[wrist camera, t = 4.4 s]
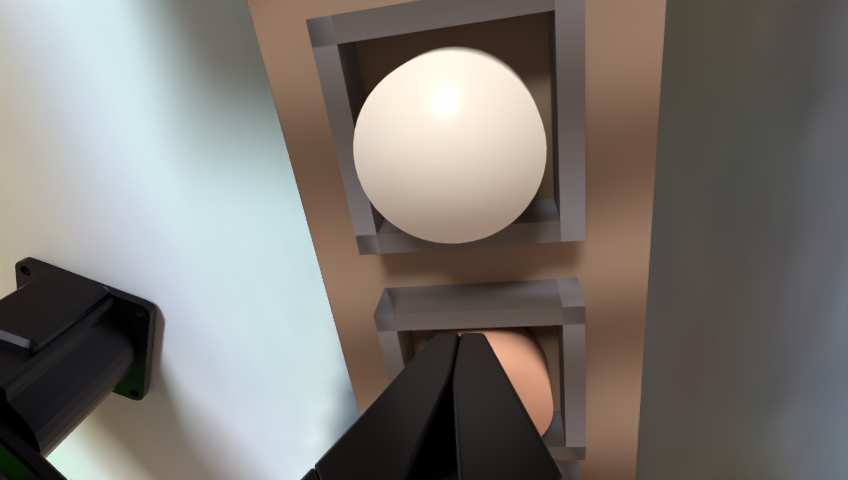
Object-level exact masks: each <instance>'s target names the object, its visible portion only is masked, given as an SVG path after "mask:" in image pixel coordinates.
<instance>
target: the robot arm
mask: <svg viewBox="0 0 848 480" xmlns="http://www.w3.org/2000/svg"><path fill="white" fill-rule="evenodd" d="M15 270H16V282H17V290H16V291H14V292H12V293H11V294H9V295H7V296H5V297H4V298H2V299H0V480H67V479H66V478H65V477H64V476H63V475H62V474H61V473H60V472H59V471H58V470H57V469H56V468H55V467H54V466H53V465H52V464H51V463H50V462H48V461H47V460H46V459H45V458H46V457H47V456H48V455H49V454H50V453H51V452H52V451H53V450H54V449H55V448H56V447H57V446H58V445H59V444H60V443H61V442H62V441H63V440H64V439H65V438H66V437H67V436H68V435H69V434H70V433H71V432H72V431H73V430H74V429H75V428H76V427H77V426H78V425H79V424H80V423H81V422H82V421H83V420H84V419H85V418H86V417H87V416H88V415H89V414H90V413H91V412H92V411H93V410H94V409H95V408H96V407H97V406H98V405H99V404H100V403H101V402H102V401H103V400H104V399H105V398H106V397H107V396H108V395H109V394H110V393H111V392H114V393H117V394H119V395H122V396H125V397H128V398H130V399H133V400H141V399H143V398H144V396H145V395H146V394H147V393H148V389H149V379H150V368H151V357H152V347H153V336H154V325H155V315H156V310H155V307H154V306H153V304H151V303H150V302H149V301H147V300H145V299H142V298H139V297H136V296H134V295H131V294H128V293H126V292H123V291H120V290H118V289H115V288H112V287H110V286H107V285H104V284H101V283H99V282H96V281H93V280H91V279H88V278H85V277H83V276H80V275H77V274H75V273H72V272H69V271H66V270H64V269H61V268H58V267H56V266H53V265H50V264H48V263H45V262H42V261H40V260H37V259H34V258H30V257H27V258H24V259H22V260H21V261H19V262H17V263H16V265H15ZM142 310H143V311H142ZM315 469H316V470H315ZM315 469H314V468H312V469H310V470H309V471H308V473H307V474H306V475H305V476H304V477H303V478H302V479H301V480H564V478H563V475H562V474H561V472H560V470H559V468H558V466H557V464H556V463H555V461H554V459H553V457H552V455H551V454H550V452H549V450H548V448H547V446H546V445H545V443H544V441H543V439H542V437H541V435H540V434H539V432H538V430H537V428H536V426H535V425H534V423H533V421H532V419H531V417H530V415H529V414H528V412H527V410H526V408H525V406H524V405H523V403H522V401H521V399H520V397H519V396H518V394H517V392H516V390H515V388H514V386H513V385H512V383H511V381H510V379H509V377H508V376H507V374H506V372H505V370H504V368H503V366H502V365H501V363H500V361H499V359H498V357H497V356H496V354H495V352H494V350H493V348H492V346H491V345H490V343H489V341H488V339H487V337H486V336H485V335H484V334H483V333H463V334H461V335H460V336H459V334H458V333H437V334H435V335H434V336H433V337H432V338H431V339H430V340H429V342H428V343H427V344H426V345H425V346H424V347H423V348H422V349H421V350H420V351H419V352H418V353H417V355H416V356H415V357H414V358H413V359H412V360H411V361H410V362H409V363H408V364H407V365H406V367H405V368H404V369H403V370H402V371H401V372H400V373H399V374H398V375H397V376H396V377H395V378H394V380H393V381H392V382H391V383H390V384H389V385H388V386H387V387H386V388H385V389H384V390H383V391H382V393H381V394H380V395H379V396H378V397H377V398H376V399H375V400H374V401H373V402H372V403H371V404H370V406H369V407H368V408H367V409H366V410H365V411H364V412H363V413H362V414H361V415H360V416H359V418H358V419H357V420H356V421H355V422H354V423H353V424H352V425H351V426H350V427H349V428H348V429H347V431H346V432H345V433H344V434H343V435H342V436H341V437H340V438H339V439H338V440H337V441H336V442H335V444H334V445H333V446H332V447H331V448H330V449H329V450H328V451H327V452H326V453H325V454H324V455H323V457H322V458H321V459H320V460H319V461H318V462H317V463H316V464H315Z"/></svg>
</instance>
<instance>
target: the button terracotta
mask: <svg viewBox="0 0 848 480" xmlns="http://www.w3.org/2000/svg"><path fill="white" fill-rule="evenodd" d="M439 333H458V334H459V336H460V335H461V334H463V333H483V334H484V335H485V336H486V337H487V339H488V341H489V343H490V345H491V346H492V348H493V350H494V352H495V354H496V356H497V357H498V359H499V361H500V363H501V365H502V366H503V368H504V370H505V372H506V374H507V376H508V377H509V379H510V381H511V383H512V385H513V386H514V388H515V390H516V392H517V394H518V396H519V397H520V399H521V401H522V403H523V405H524V406H525V408H526V410H527V412H528V414H529V415H530V417H531V419H532V421H533V423H534V425H535V426H536V428H537V430H538V432H539V434H540V435H541V436H542V435H543V434H544V433H545V432H546V430H547V429H548V427H549V425H550V423H551V420H552V416H553V401H552V394H551V386H550V379H549V372H548V365H547V358H546V355H545V352H544V350H543V348H542V346H541V345H540V343H539V342H538V341H537V339H536V338H535V337H534V336H533V335H532V334H530V333H529V332H528V331H527V330H525V329H524V328H522V327H521V326H519V327H491V328H462V329H442V330H441V331H440V332H439Z"/></svg>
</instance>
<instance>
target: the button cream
mask: <svg viewBox="0 0 848 480" xmlns="http://www.w3.org/2000/svg"><path fill="white" fill-rule="evenodd" d="M546 150H547V146H546V137H545V131H544V127H543V123H542V120H541V117H540V115H539V112H538V109H537V107H536V104H535V102H534V99H533V97H532V94H531V92H530V90H529V89H528V87H527V85H526V83H525V82H524V81H523V80H522V78H521V77H520V76H519V74H518V73H517V72H516V71H515V70H513V69H512V68H511V67H510V66H509V65H508V64H506V63H505V62H504V61H502V60H501V59H499V58H497V57H496V56H494V55H492V54H490V53H487V52H484V51H482V50H479V49H474V48H469V47H458V46H453V47H443V48H438V49H433V50H430V51H428V52H425V53H422V54H420V55H418V56H417V57H415V58H413V59H411V60H410V61H408V62H406V63H405V64H403V65H402V66H400V67H399V68H397V69H396V70H394V71H393V72H392V73H390V74H389V75H387V76H386V77H385V78H384V79H383V80H382V81H381V82H380V83H379V84H378V85H377V86H376V87H375V88H374V90H373V91H372V92H371V94H370V95H369V96H368V98H367V100H366V102H365V103H364V105H363V107H362V109H361V112H360V114H359V117H358V120H357V123H356V127H355V132H354V141H353V153H354V161H355V167H356V171H357V175H358V178H359V181H360V183H361V185H362V188H363V190H364V192H365V193H366V195H367V197H368V198H369V200H370V201H371V203H372V204H373V205H374V207H375V208H376V209H377V210H378V211H379V212H380V213H381V214H382V215H383V217H385V218H386V219H387V220H388V221H389V222H391V223H392V224H393V225H395V226H396V227H398V228H399V229H401V230H402V231H404V232H406V233H408V234H410V235H412V236H415V237H418V238H421V239H424V240H428V241H432V242H438V243H465V242H471V241H475V240H479V239H482V238H485V237H488V236H490V235H493V234H494V233H496V232H498V231H500V230H502V229H503V228H505V227H506V226H508V225H509V224H511V223H512V222H513V221H514V220H515V219H516V218H517V217H519V216H520V215H521V214H522V212H523V211H524V210H525V209H526V208H527V206H528V205H529V204H530V202H531V201H532V199H533V198H534V196H535V194H536V192H537V190H538V188H539V186H540V183H541V180H542V177H543V174H544V170H545V164H546Z"/></svg>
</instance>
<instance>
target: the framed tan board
mask: <svg viewBox="0 0 848 480" xmlns="http://www.w3.org/2000/svg"><path fill="white" fill-rule="evenodd" d="M246 1H247V4H248V8H249V11H250V15H251V19H252V22H253V26H254V30H255V33H256V37H257V41H258V44H259V48H260V52H261V55H262V59H263V63H264V66H265V70H266V74H267V77H268V81H269V84H270V88H271V92H272V95H273V99H274V103H275V106H276V110H277V114H278V117H279V121H280V125H281V128H282V132H283V136H284V139H285V143H286V147H287V150H288V154H289V157H290V161H291V165H292V168H293V172H294V176H295V179H296V183H297V187H298V190H299V194H300V198H301V201H302V205H303V209H304V212H305V216H306V220H307V223H308V227H309V231H310V234H311V238H312V241H313V245H314V249H315V252H316V256H317V260H318V263H319V267H320V271H321V274H322V278H323V282H324V285H325V289H326V293H327V296H328V300H329V304H330V307H331V311H332V314H333V318H334V322H335V325H336V329H337V333H338V336H339V340H340V344H341V347H342V351H343V355H344V358H345V362H346V366H347V369H348V373H349V377H350V380H351V384H352V388H353V391H354V395H355V398H356V402H357V406H358V409H359V413H360V415H361V414H362V413H363V412H364V411H365V410H366V409H367V408H368V407H369V406H370V404H371V403H372V402H373V401H374V400H375V399H376V398H377V397H378V396H379V395H380V394H381V393H382V391H383V390H384V389H385V388H386V387H387V386H388V385H389V384H390V383H391V382H392V381H393V380H394V378H395V377H396V376H397V375H398V374H399V373H400V372H401V371H402V370H403V369H404V368H405V367H406V365H407V364H408V363H409V362H410V361H411V360H412V359H413V358H414V357H415V356H416V355H417V353H418V352H419V351H420V350H421V349H422V348H423V347H424V346H425V345H426V344H427V343H428V342H429V340H430V339H431V338H432V337H433V336H434V335H435V334H437V333H439V332H440V331H441V330H442V329H462V328H491V327H519V326H521V327H522V328H524V329H525V330H527V331H528V332H529V333H530V334H532V335H533V336H534V337H535V338H536V339H537V341H538V342H539V343H540V345H541V346H542V348H543V350H544V352H545V355H546V358H547V365H548V372H549V379H550V386H551V394H552V401H553V416H552V420H551V423H550V425H549V427H548V429H547V430H546V432H545V433H544V434H543V435H542V436H541V437H542V439H543V441H544V443H545V445H546V446H547V448H548V450H549V452H550V454H551V455H552V457H553V459H554V461H555V463H556V464H557V466H558V468H559V470H560V472H561V474H562V475H563V478H564V480H635V476H636V460H637V445H638V429H639V414H640V398H641V383H642V367H643V351H644V336H645V320H646V305H647V289H648V274H649V258H650V243H651V227H652V212H653V196H654V181H655V165H656V150H657V134H658V119H659V103H660V88H661V72H662V57H663V41H664V26H665V10H666V0H246ZM453 46H458V47H469V48H474V49H479V50H482V51H484V52H487V53H490V54H492V55H494V56H496V57H497V58H499V59H501V60H502V61H504V62H505V63H506V64H508V65H509V66H510V67H511V68H512V69H513V70H515V71H516V72H517V73H518V74H519V76H520V77H521V78H522V80H523V81H524V82H525V83H526V85H527V87H528V89H529V90H530V92H531V94H532V97H533V99H534V102H535V104H536V107H537V109H538V112H539V115H540V117H541V120H542V123H543V127H544V131H545V137H546V146H547V150H546V164H545V170H544V174H543V177H542V180H541V183H540V186H539V188H538V190H537V192H536V194H535V196H534V198H533V199H532V201H531V202H530V204H529V205H528V206H527V208H526V209H525V210H524V211H523V212H522V214H521V215H520V216H519V217H517V218H516V219H515V220H514V221H513V222H512V223H511V224H509V225H508V226H506V227H505V228H503V229H502V230H500V231H498V232H496V233H494V234H493V235H490V236H488V237H485V238H482V239H479V240H475V241H471V242H465V243H438V242H432V241H428V240H424V239H421V238H418V237H415V236H412V235H410V234H408V233H406V232H404V231H402V230H401V229H399V228H398V227H396V226H395V225H393V224H392V223H391V222H389V221H388V220H387V219H386V218H385V217H383V215H382V214H381V213H380V212H379V211H378V210H377V209H376V208H375V207H374V205H373V204H372V203H371V201H370V200H369V198H368V197H367V195H366V193H365V192H364V190H363V188H362V185H361V183H360V181H359V178H358V175H357V171H356V167H355V161H354V153H353V141H354V132H355V127H356V123H357V120H358V117H359V114H360V112H361V109H362V107H363V105H364V103H365V102H366V100H367V98H368V96H369V95H370V94H371V92H372V91H373V90H374V88H375V87H376V86H377V85H378V84H379V83H380V82H381V81H382V80H383V79H384V78H385V77H386V76H387V75H389V74H390V73H392V72H393V71H394V70H396V69H397V68H399V67H400V66H402V65H403V64H405V63H406V62H408V61H410V60H411V59H413V58H415V57H417V56H418V55H420V54H422V53H425V52H428V51H430V50H433V49H438V48H443V47H453Z"/></svg>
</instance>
